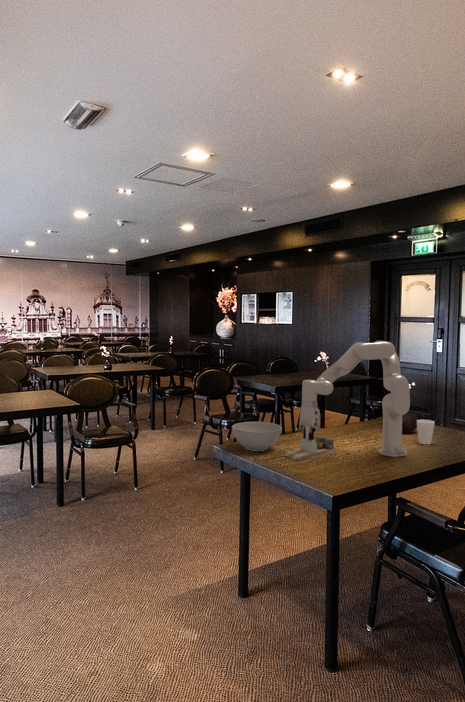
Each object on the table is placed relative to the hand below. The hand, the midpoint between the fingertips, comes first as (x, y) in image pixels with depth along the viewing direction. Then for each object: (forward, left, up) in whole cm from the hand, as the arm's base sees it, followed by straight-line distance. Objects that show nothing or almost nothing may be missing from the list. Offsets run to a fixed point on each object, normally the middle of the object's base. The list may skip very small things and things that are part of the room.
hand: (308, 438), depth 255 cm
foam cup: (-22, -71, -8) cm, 75 cm away
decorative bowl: (+24, +15, -9) cm, 30 cm away
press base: (0, -1, -8) cm, 8 cm away
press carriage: (0, 0, -6) cm, 6 cm away
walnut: (0, -8, -6) cm, 10 cm away
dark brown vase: (+4, -88, -9) cm, 89 cm away
